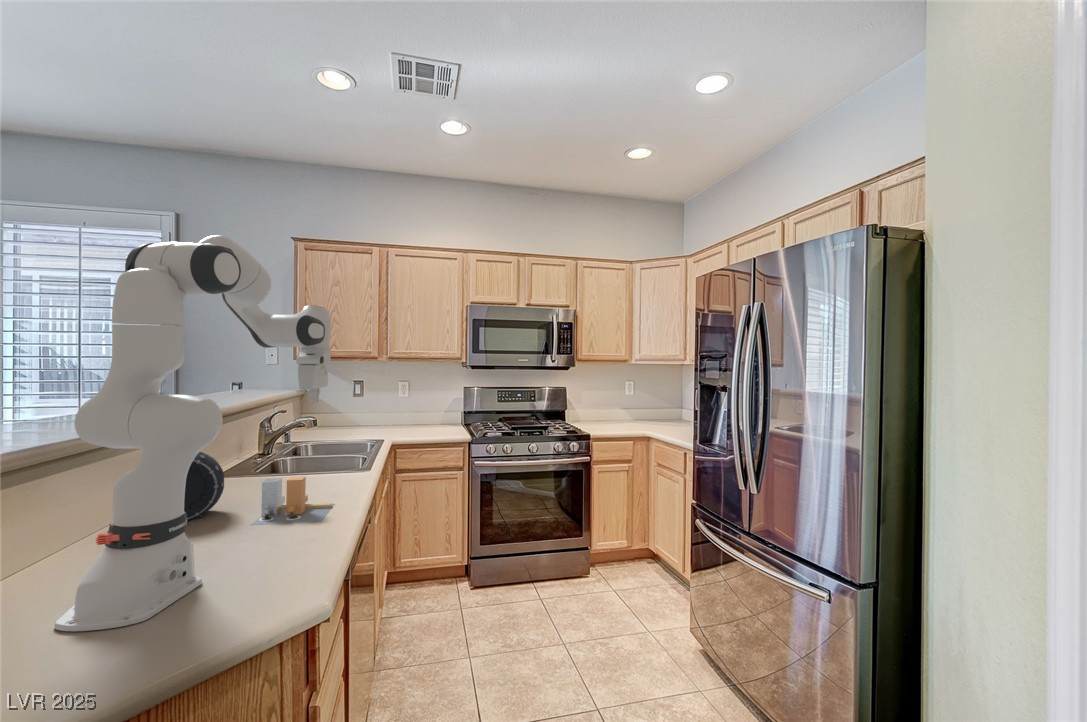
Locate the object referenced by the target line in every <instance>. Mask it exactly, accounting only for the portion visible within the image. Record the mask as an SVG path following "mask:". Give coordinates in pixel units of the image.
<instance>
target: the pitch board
mask: <svg viewBox="0 0 1087 722" xmlns="http://www.w3.org/2000/svg"><path fill="white" fill-rule="evenodd" d="M334 506H335V503H332V502H327V503H326V502H320V503H305V511H304V512H303V513H302V514H297V515H292V516H290V515H286V504H282V505H281V513H280V514H279V515H278V516H277V517H268V518H265V517H261V515H260V516H259V517H258V518H257V519H256V520H254V521H253V522H252V523H251V524H250V526H260V525H276V524H277V525H280V524H281V525H282V524H297V523H298V524H299V523H302V524H303V523H316V522H317V523H318V522H320V523H321V522H323V520H324V519H325V518H326V516H327V515H328V514H329V513H330V511H331V510H332V509H333V507H334Z"/></svg>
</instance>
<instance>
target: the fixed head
mask: <svg viewBox="0 0 1087 722" xmlns="http://www.w3.org/2000/svg"><path fill="white" fill-rule="evenodd" d="M282 492H283V478H282V477H281V478H267V479H266V478H265V480H263V481H262V482H261V512H260V513H261V515H260V516H261V517H265V518H268V517H277V516H278V515H279V514H280V513H281V505H284V504H285V503H286V495H285V496H283V495H282V494H283V493H282Z"/></svg>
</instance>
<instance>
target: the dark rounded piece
mask: <svg viewBox="0 0 1087 722" xmlns="http://www.w3.org/2000/svg"><path fill="white" fill-rule="evenodd" d="M224 488H225V473H224V470H223V468H222V466H221V465H220V463H219V462H218V461H217V460H216V459H215V458H214V457H213V456H212V455H209V454H207V453H205V452H202V451H200V452H199V453H198V454H197V455H196V457H195V458H194V460H193V462H192V463H191V465H190V468H189V470H188V473H187V478H186V485H185V499H184V511H185V512H186V516H187V522H189V521H192V520H194V519H197V518H202V517H203V516H204V515H205V514H206V513H207V512H209V511H210V510H212V508H213V507H215V505H216V504H217V503H218V502H219V500H220V498H221V496H222V495H223V492H224Z"/></svg>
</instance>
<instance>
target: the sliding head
mask: <svg viewBox="0 0 1087 722" xmlns="http://www.w3.org/2000/svg"><path fill="white" fill-rule="evenodd" d="M306 478H307V476H290V477H289V478H288V479H286V495H285V503H286V504H285V505H286V515H290V516H292V515H297V514H302V513H303V512H304V511H305V504H307V502H308V501H309V495H308V494H306V480H307V479H306Z"/></svg>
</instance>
